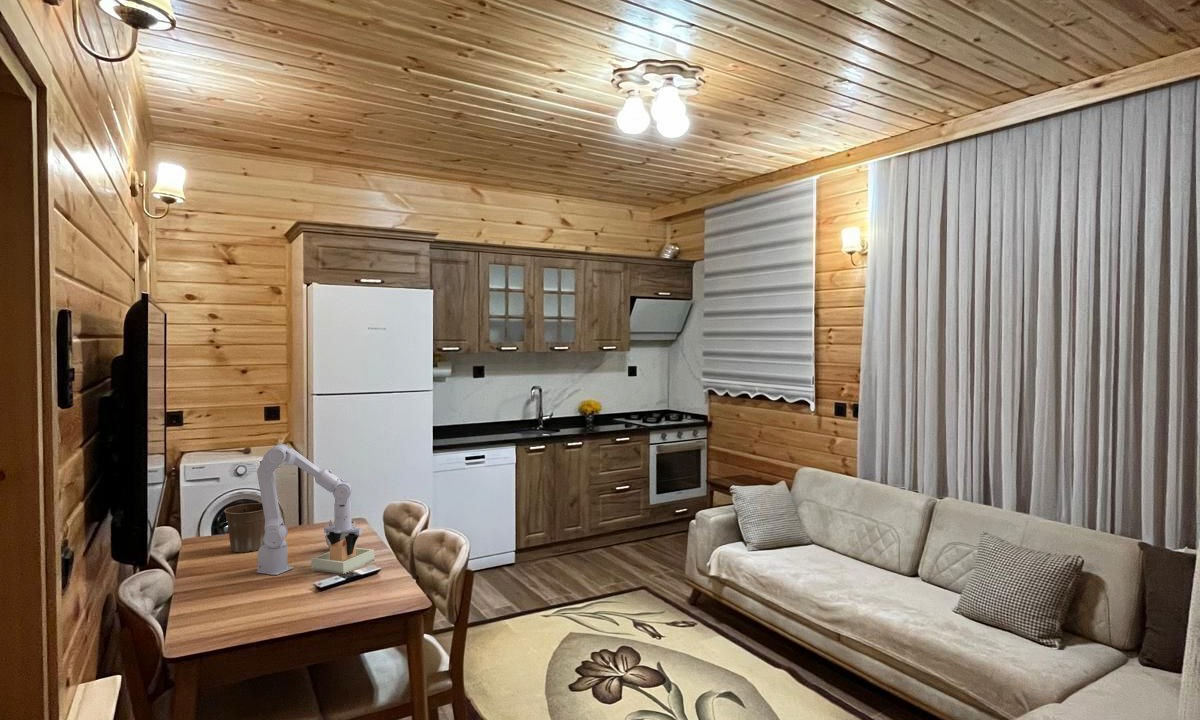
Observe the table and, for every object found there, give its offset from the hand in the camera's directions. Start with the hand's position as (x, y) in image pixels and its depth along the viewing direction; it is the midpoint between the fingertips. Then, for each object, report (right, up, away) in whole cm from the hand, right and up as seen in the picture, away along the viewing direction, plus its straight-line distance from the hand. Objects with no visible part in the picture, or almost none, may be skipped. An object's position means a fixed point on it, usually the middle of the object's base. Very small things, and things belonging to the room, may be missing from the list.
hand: (343, 553), depth 243 cm
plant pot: (-45, -5, +21) cm, 50 cm away
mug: (-8, -4, +20) cm, 22 cm away
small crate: (0, -2, 0) cm, 2 cm away
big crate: (0, -4, 0) cm, 4 cm away
